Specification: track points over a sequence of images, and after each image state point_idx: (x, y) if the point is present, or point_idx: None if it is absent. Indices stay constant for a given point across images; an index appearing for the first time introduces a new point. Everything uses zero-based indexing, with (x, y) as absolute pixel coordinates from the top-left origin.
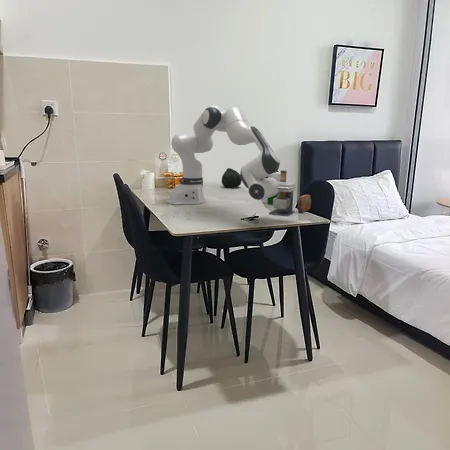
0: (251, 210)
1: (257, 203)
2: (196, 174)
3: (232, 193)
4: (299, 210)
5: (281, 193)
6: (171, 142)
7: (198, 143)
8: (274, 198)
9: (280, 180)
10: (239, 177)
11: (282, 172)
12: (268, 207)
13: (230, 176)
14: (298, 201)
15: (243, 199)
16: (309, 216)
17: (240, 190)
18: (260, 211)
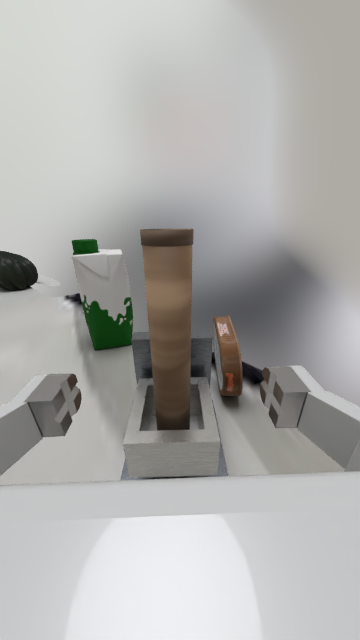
0: (10, 472)
1: (61, 354)
2: None
3: (7, 309)
4: (228, 395)
5: (172, 393)
6: None
7: None
8: (130, 432)
9: (153, 312)
10: (29, 267)
11: (165, 244)
12: (100, 382)
13: (5, 268)
14: (227, 369)
15: (23, 336)
16: (308, 447)
17: (35, 293)
18: (62, 469)
